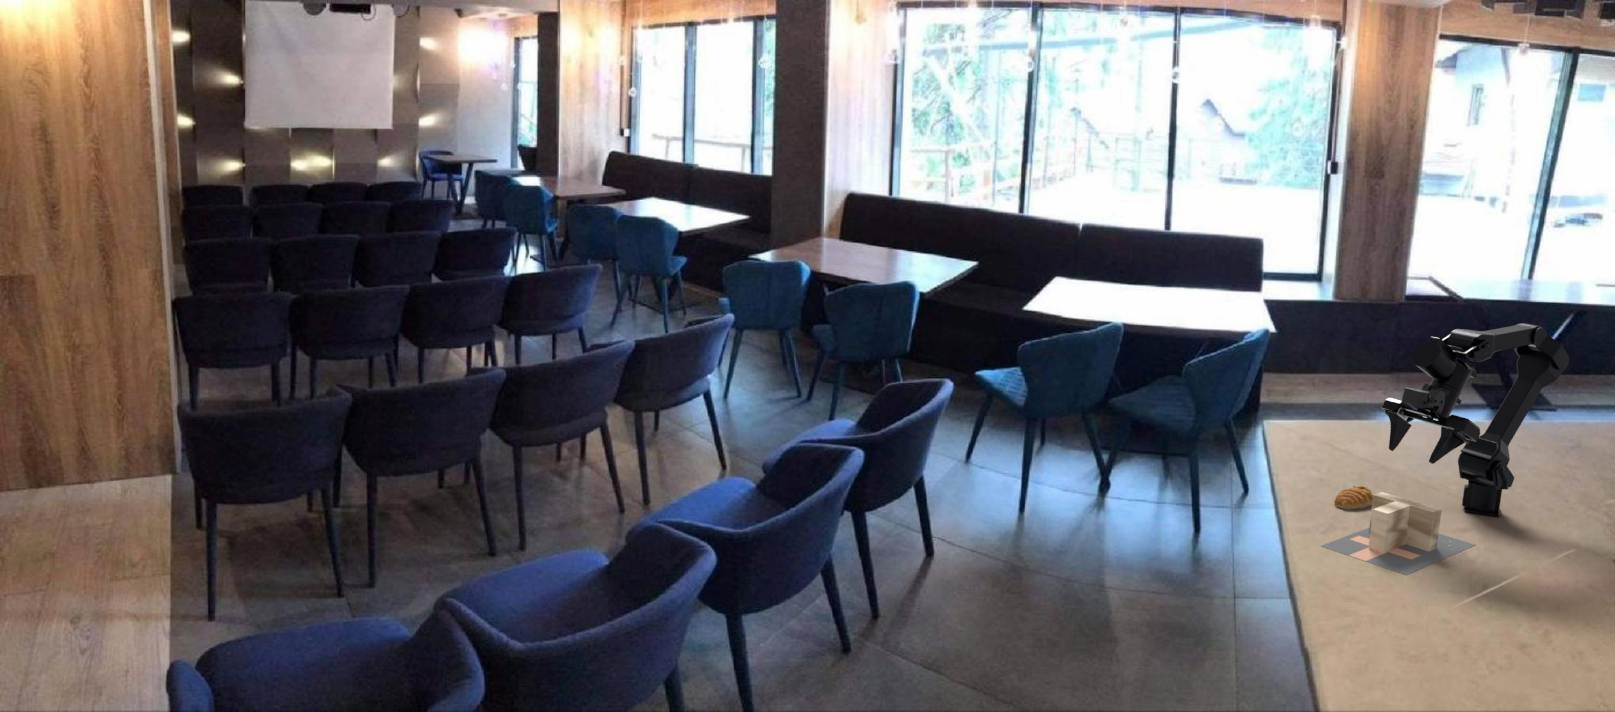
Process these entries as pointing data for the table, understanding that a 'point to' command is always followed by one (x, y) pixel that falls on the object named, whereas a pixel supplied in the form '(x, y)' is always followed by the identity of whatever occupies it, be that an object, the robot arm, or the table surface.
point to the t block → (1402, 524)
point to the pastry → (1354, 498)
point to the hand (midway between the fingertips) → (1410, 456)
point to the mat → (1397, 552)
